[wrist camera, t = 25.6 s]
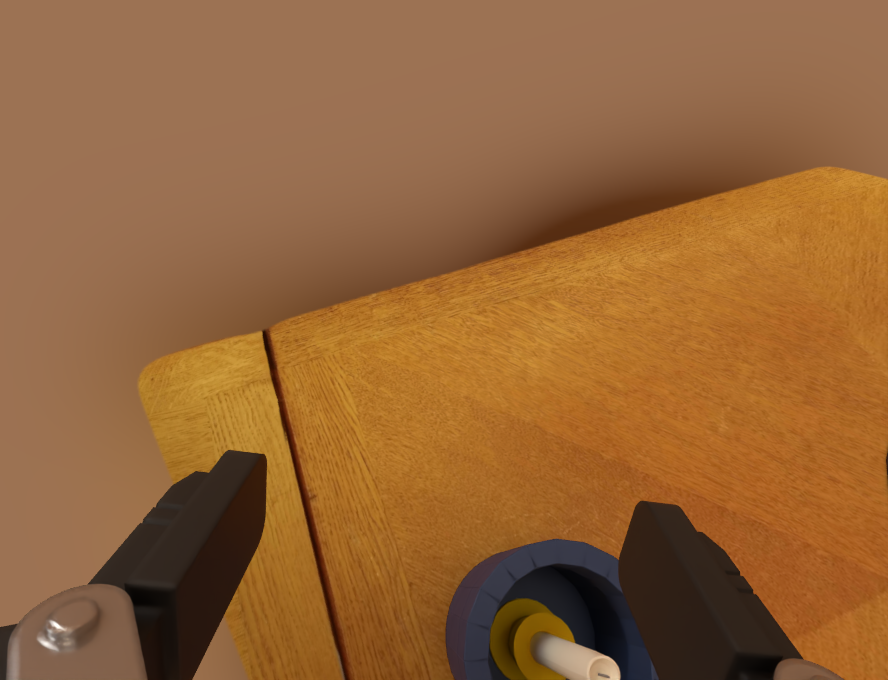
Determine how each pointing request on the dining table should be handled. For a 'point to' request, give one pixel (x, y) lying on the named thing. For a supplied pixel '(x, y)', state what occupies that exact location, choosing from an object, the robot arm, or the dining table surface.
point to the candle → (542, 646)
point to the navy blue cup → (559, 589)
